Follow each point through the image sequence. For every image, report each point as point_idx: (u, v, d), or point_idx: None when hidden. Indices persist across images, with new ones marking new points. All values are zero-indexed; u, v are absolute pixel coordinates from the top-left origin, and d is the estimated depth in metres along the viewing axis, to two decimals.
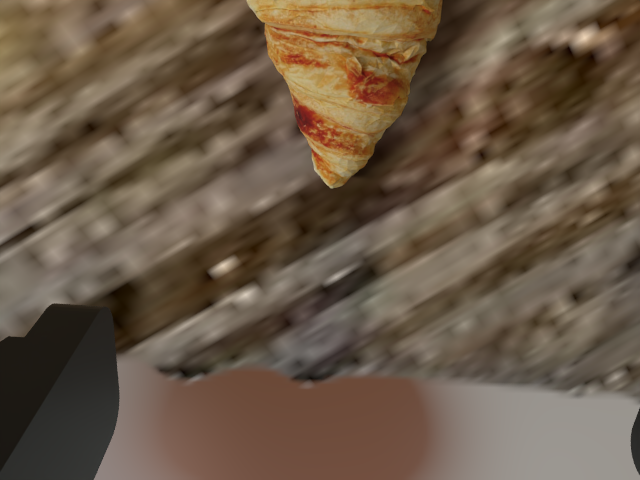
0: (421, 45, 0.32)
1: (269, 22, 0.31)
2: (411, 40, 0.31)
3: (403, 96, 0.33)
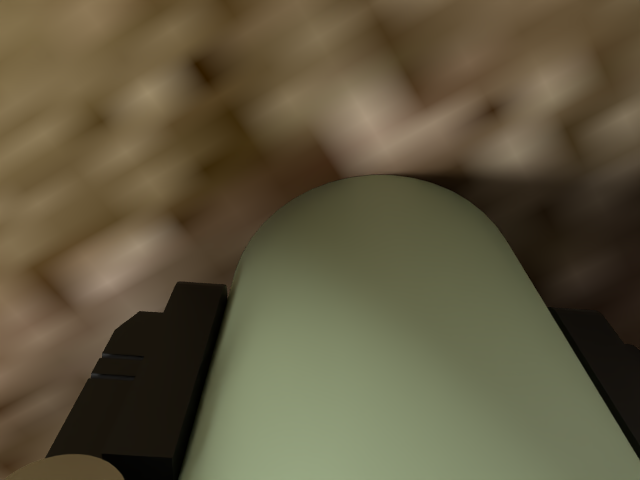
0: None
1: None
2: None
3: None
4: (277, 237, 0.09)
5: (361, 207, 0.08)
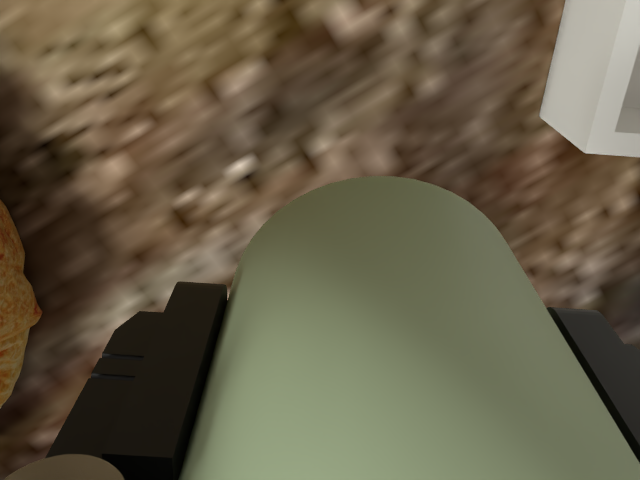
0: None
1: None
2: None
3: None
4: (277, 238, 0.09)
5: (361, 208, 0.08)
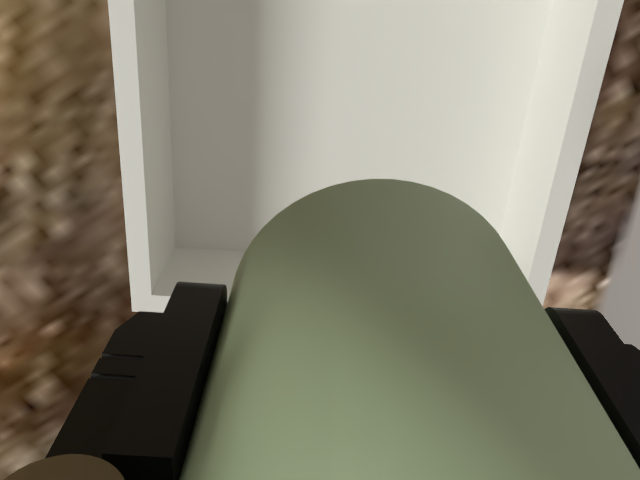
0: None
1: None
2: None
3: None
4: (277, 241, 0.09)
5: (360, 211, 0.08)
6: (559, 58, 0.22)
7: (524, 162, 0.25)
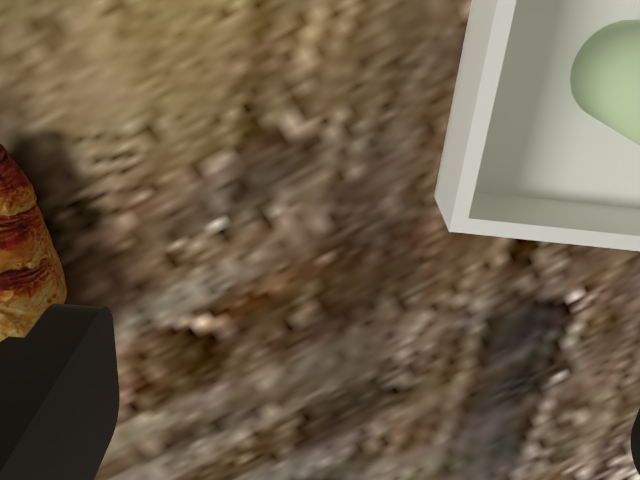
0: None
1: None
2: None
3: None
4: (607, 32, 0.29)
5: (635, 22, 0.29)
6: None
7: None
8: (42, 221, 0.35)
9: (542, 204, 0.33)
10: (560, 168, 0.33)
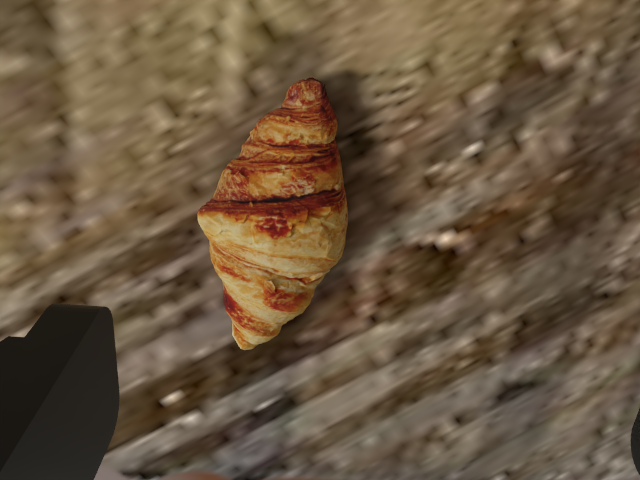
0: (324, 273, 0.42)
1: (212, 241, 0.41)
2: (316, 272, 0.41)
3: (305, 305, 0.43)
4: None
5: None
6: None
7: None
8: (338, 151, 0.41)
9: None
10: None
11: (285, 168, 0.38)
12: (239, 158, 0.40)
